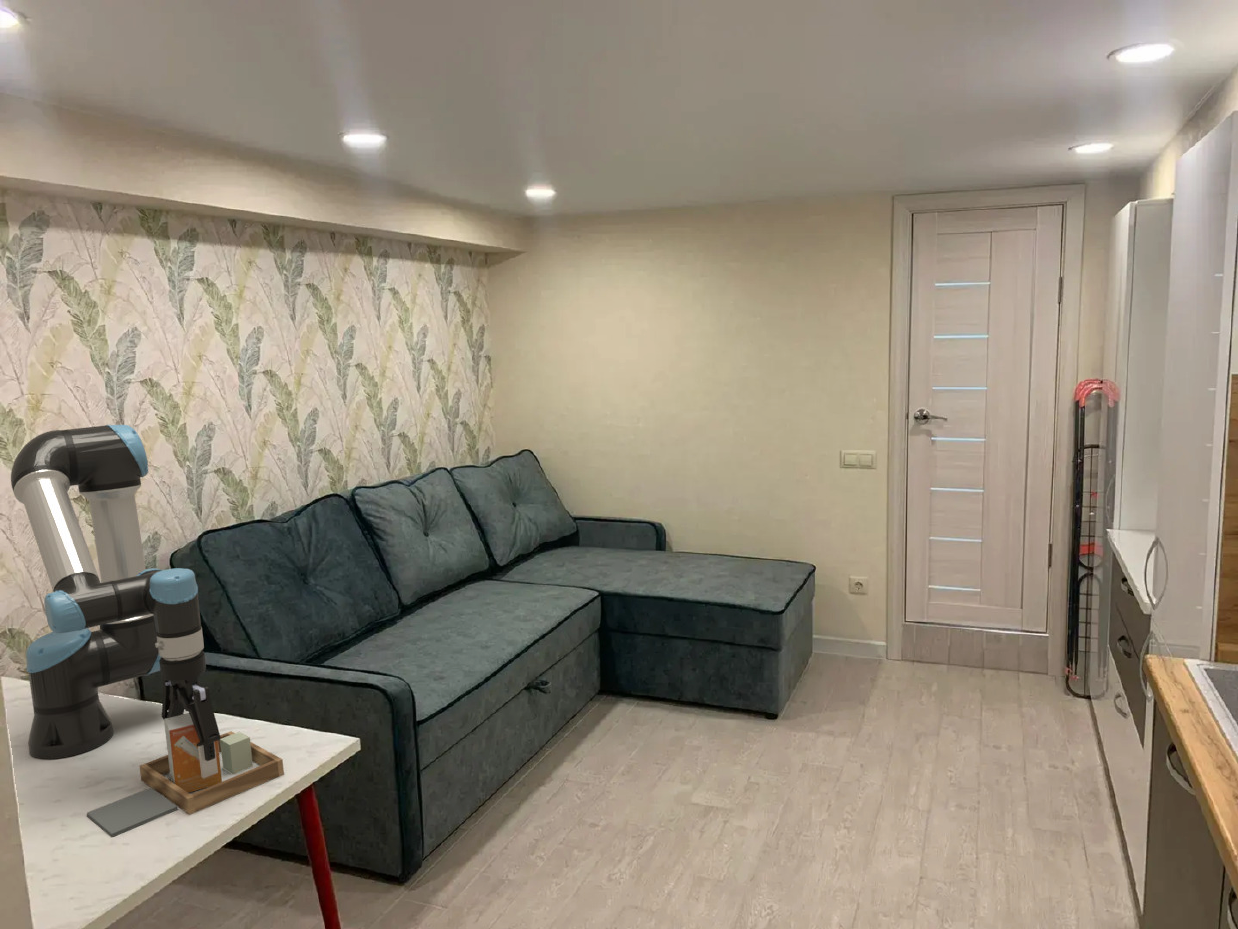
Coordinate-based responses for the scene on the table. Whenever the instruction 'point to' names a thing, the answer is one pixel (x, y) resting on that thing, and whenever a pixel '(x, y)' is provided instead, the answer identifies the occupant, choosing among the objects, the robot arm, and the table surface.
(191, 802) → the bin
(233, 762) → the sage block
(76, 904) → the table surface
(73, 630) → the robot arm
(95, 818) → the mat
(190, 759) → the small box
